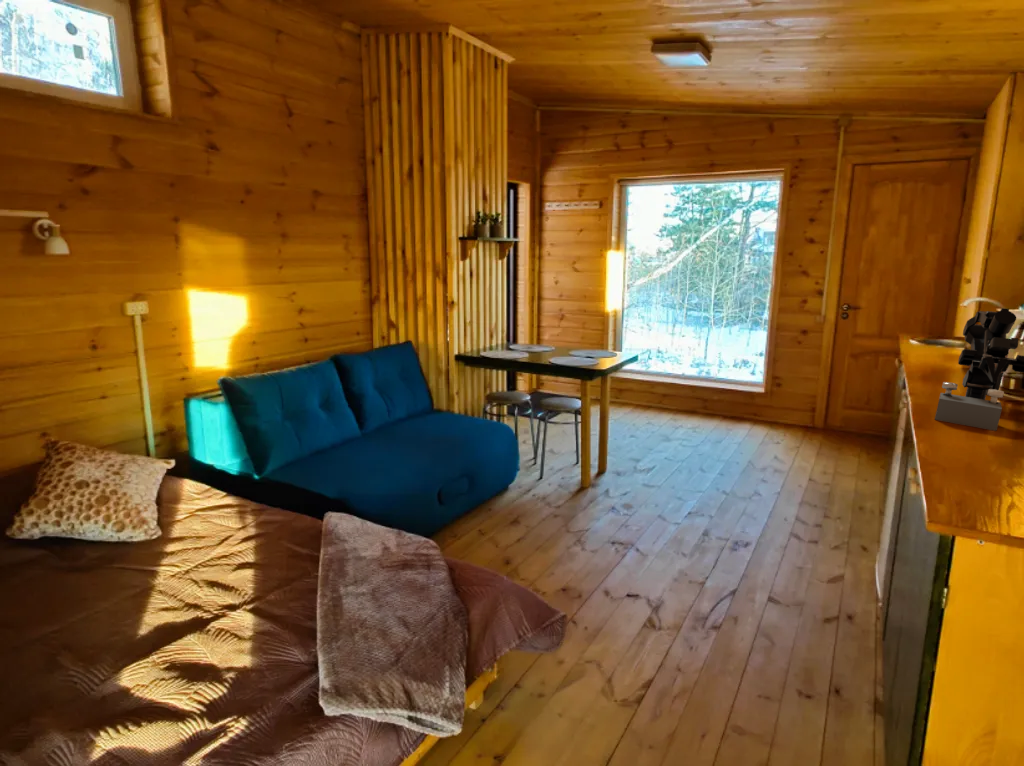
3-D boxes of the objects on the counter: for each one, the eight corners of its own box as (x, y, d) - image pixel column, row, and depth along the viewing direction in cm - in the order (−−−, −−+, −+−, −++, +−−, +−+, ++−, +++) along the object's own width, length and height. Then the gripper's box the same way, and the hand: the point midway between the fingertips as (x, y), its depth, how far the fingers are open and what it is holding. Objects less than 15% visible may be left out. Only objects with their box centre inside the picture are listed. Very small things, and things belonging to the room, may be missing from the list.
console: (936, 413, 212) (940, 392, 211) (995, 423, 204) (1000, 402, 202) (934, 419, 204) (939, 398, 203) (996, 430, 196) (1001, 408, 194)
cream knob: (985, 400, 204) (988, 388, 203) (1000, 403, 202) (1003, 390, 201) (985, 403, 201) (988, 390, 200) (1001, 405, 198) (1004, 393, 197)
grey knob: (940, 393, 210) (943, 381, 209) (955, 395, 208) (957, 383, 207) (940, 395, 207) (942, 383, 206) (954, 398, 205) (957, 385, 204)
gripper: (968, 324, 209) (965, 362, 202) (1039, 331, 201) (1039, 371, 194) (959, 345, 218) (956, 382, 211) (1026, 352, 210) (1026, 391, 203)
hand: (993, 381), depth 205 cm, fingers closed
